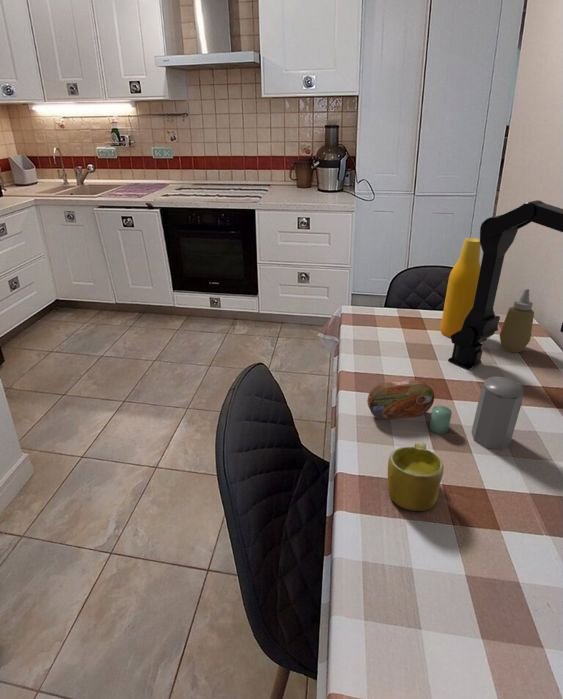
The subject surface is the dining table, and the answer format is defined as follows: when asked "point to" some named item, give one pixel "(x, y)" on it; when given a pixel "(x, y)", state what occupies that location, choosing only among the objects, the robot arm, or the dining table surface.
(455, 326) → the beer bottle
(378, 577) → the dining table surface
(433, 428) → the pale green rounded part
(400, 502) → the mug
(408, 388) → the tin
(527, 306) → the squeeze bottle
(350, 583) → the dining table surface
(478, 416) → the grey domed canister
